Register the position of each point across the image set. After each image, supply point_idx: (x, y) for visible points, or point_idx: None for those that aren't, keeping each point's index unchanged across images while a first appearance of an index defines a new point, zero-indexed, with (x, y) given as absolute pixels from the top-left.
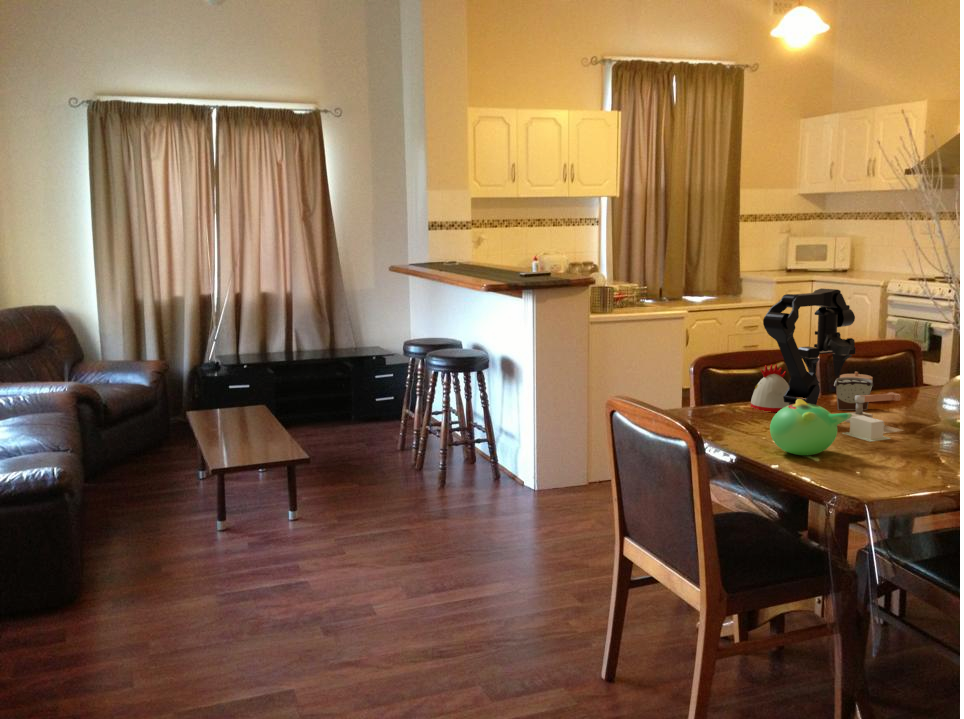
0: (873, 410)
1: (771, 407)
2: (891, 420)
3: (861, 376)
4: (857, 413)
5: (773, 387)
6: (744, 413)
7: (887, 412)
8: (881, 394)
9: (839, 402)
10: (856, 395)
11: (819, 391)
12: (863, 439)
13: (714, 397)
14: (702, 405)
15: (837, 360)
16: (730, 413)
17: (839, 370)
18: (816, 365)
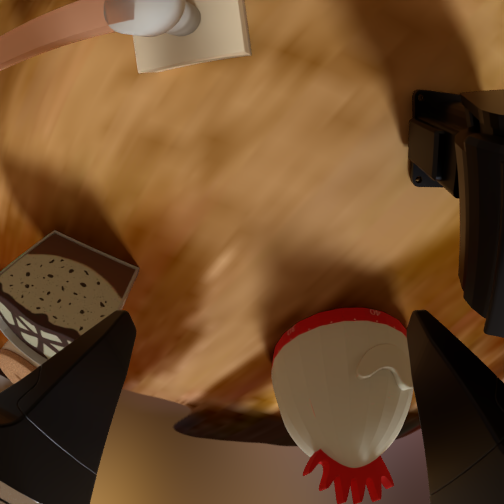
0: (40, 218)
1: (401, 332)
2: (50, 61)
3: (15, 375)
4: (198, 9)
5: (393, 404)
6: (467, 329)
7: (16, 181)
8: (3, 51)
9: (123, 284)
10: (142, 27)
11: (483, 109)
12: None
13: None
14: None
15: (61, 449)
16: (489, 337)
17: (86, 343)
18: (489, 421)
